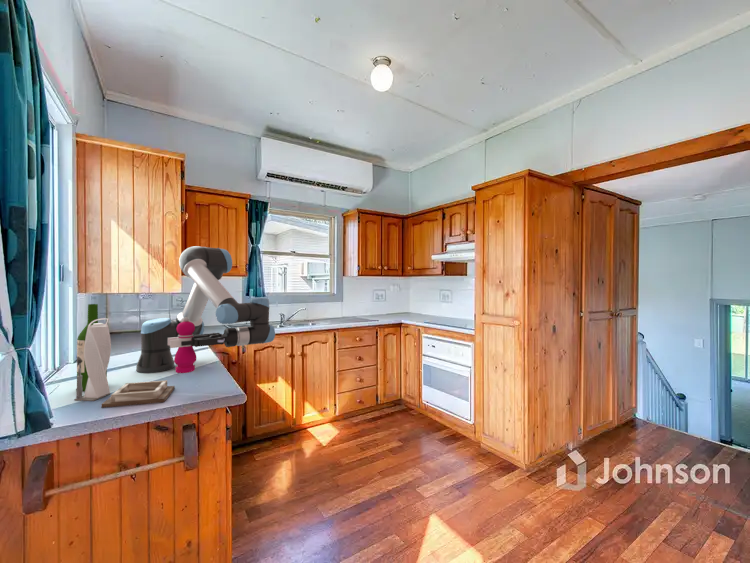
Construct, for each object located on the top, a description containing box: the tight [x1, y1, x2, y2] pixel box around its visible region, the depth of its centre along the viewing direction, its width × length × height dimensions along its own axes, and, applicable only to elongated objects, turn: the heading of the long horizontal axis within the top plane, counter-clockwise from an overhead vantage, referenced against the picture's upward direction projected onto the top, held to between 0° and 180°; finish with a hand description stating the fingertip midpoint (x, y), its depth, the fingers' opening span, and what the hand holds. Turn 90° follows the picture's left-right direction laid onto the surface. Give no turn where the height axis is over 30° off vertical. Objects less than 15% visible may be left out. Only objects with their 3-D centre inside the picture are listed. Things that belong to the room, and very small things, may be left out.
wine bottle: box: [76, 303, 108, 392], centre depth 131 cm, size 9×9×32 cm
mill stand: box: [101, 379, 176, 408], centre depth 121 cm, size 15×18×4 cm
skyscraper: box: [74, 317, 112, 402], centre depth 121 cm, size 8×8×28 cm
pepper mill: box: [173, 317, 197, 374], centre depth 125 cm, size 7×7×20 cm
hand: (169, 342), depth 121 cm, fingers closed on pepper mill, 5 cm apart
